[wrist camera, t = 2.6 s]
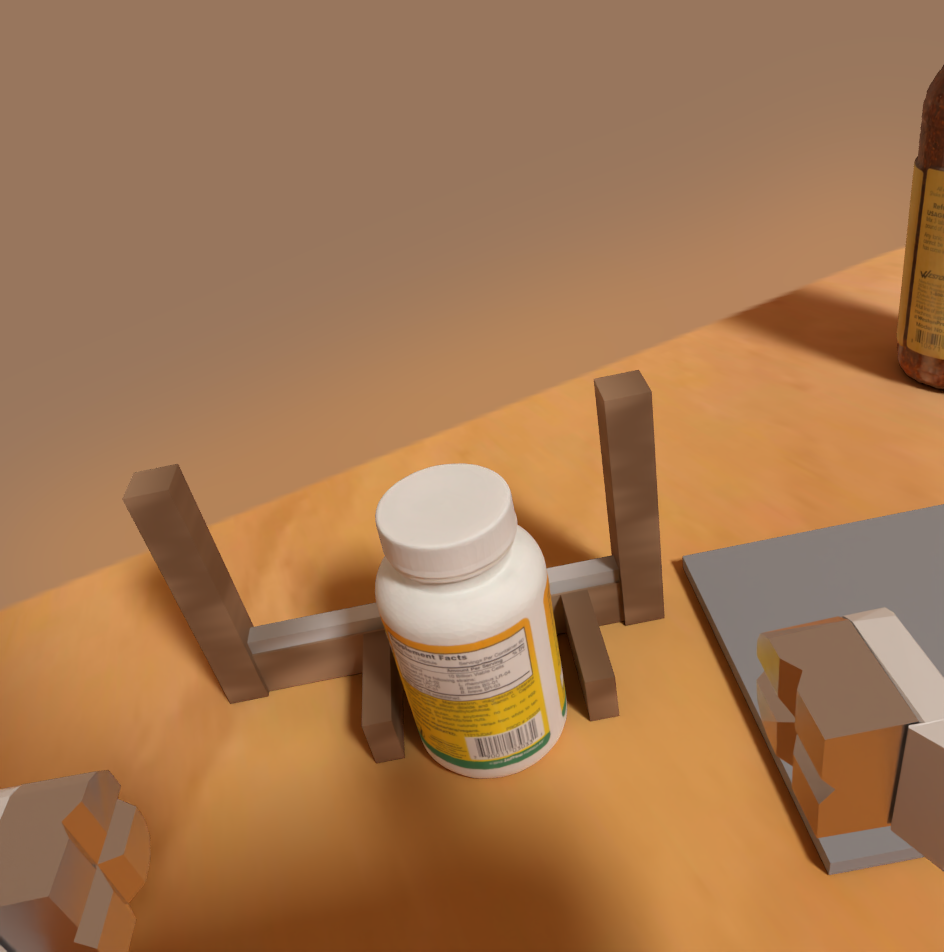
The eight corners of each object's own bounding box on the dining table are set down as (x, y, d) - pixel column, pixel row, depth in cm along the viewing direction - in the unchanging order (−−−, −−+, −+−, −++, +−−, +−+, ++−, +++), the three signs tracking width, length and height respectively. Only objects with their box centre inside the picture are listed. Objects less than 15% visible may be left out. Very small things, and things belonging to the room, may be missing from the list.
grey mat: (829, 875, 22) (830, 863, 22) (682, 567, 33) (682, 556, 33) (1300, 784, 22) (1310, 772, 22) (1000, 504, 33) (1003, 492, 33)
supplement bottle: (520, 810, 26) (466, 588, 20) (389, 746, 29) (311, 537, 23) (596, 686, 29) (567, 468, 24) (472, 641, 32) (421, 436, 27)
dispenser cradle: (213, 795, 28) (85, 583, 23) (235, 674, 33) (133, 472, 27) (698, 700, 28) (692, 461, 22) (653, 591, 32) (638, 369, 27)
